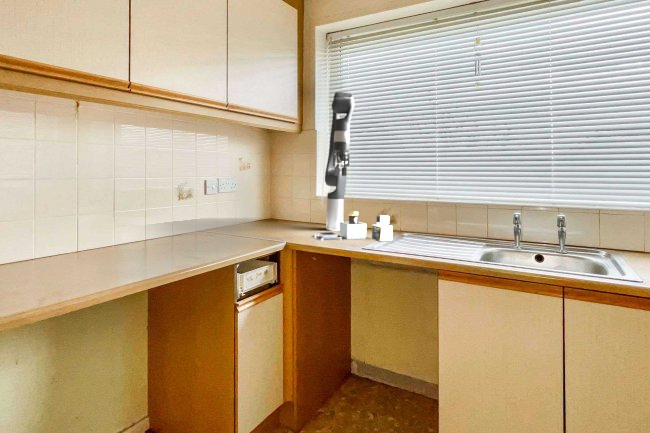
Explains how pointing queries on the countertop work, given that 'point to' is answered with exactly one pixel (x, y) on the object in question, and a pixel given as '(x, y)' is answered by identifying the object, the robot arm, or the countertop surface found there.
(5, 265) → the countertop surface
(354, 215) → the black and gold cylinder
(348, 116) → the robot arm
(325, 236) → the mount
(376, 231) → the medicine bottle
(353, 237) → the bin
